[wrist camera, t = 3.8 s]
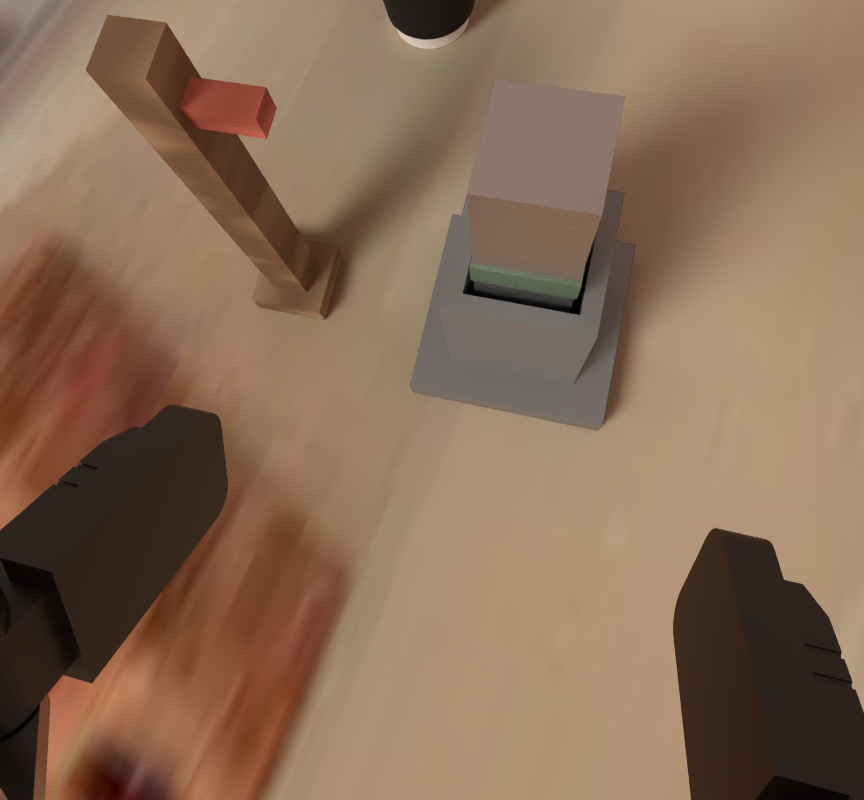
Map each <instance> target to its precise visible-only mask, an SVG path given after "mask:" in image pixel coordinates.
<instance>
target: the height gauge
mask: <svg viewBox="0 0 864 800" xmlns="http://www.w3.org/2000/svg"><path fill="white" fill-rule="evenodd" d="M86 71H87V72H88V73H89V75H90V76H91V77H92V78H93V79H94V80H95V81H96V83H97V84H98V85H99V86H100V87H101V88H102V89H103V91H104V92H105V93H106V94H107V95H108V96H109V98H110V99H111V100H112V101H113V102H114V103H115V104H116V106H117V107H118V108H119V109H120V110H121V111H122V112H123V114H124V115H125V116H126V117H127V118H128V119H129V121H130V122H131V123H132V124H133V125H134V126H135V127H136V129H137V130H138V131H139V132H140V133H141V134H142V135H143V137H144V138H145V139H146V140H147V141H148V142H149V144H150V145H151V146H152V147H153V148H154V149H155V150H156V152H157V153H158V154H159V155H160V156H161V157H162V159H163V160H164V161H165V162H166V163H167V164H168V165H169V167H170V168H171V169H172V170H173V171H174V172H175V173H176V175H177V176H178V177H179V178H180V179H181V180H182V182H183V183H184V184H185V185H186V186H187V187H188V188H189V190H190V191H191V192H192V193H193V194H194V195H195V196H196V198H197V199H198V200H199V201H200V202H201V203H202V205H203V206H204V207H205V208H206V209H207V210H208V211H209V213H210V214H211V215H212V216H213V217H214V218H215V219H216V221H217V222H218V223H219V224H220V225H221V226H222V228H223V229H224V230H225V231H226V232H227V233H228V234H229V236H230V237H231V238H232V239H233V240H234V241H235V242H236V244H237V245H238V246H239V247H240V248H241V249H242V251H243V252H244V253H245V254H246V255H247V256H248V257H249V259H250V260H251V261H252V262H253V263H254V264H255V265H256V267H257V268H258V269H259V270H260V274H259V277H258V280H257V284H256V287H255V290H254V293H253V297H252V300H253V301H254V302H255V303H256V304H257V305H258V306H259V307H262V308H267V309H272V310H277V311H282V312H288V313H293V314H298V315H303V316H308V317H313V318H318V319H323V320H325V317H326V314H327V310H328V307H329V303H330V300H331V296H332V292H333V289H334V285H335V282H336V278H337V275H338V271H339V268H340V264H341V260H342V257H343V255H342V254H341V252H340V250H339V248H338V246H332V245H327V244H321V243H315V242H310V241H304V239H303V238H302V236H301V235H300V233H299V231H298V230H297V228H296V227H295V225H294V224H293V222H292V220H291V219H290V217H289V216H288V214H287V212H286V211H285V209H284V208H283V206H282V205H281V203H280V201H279V200H278V198H277V197H276V195H275V194H274V192H273V190H272V189H271V187H270V186H269V184H268V182H267V181H266V179H265V178H264V176H263V175H262V173H261V171H260V170H259V168H258V167H257V165H256V164H255V162H254V160H253V159H252V157H251V156H250V154H249V152H248V151H247V149H246V148H245V146H244V145H243V143H242V141H241V140H240V138H239V137H238V135H245V136H251V137H258V138H264V139H267V137H268V134H269V130H270V127H271V124H272V121H273V118H274V115H275V112H276V109H277V108H276V106H275V104H274V102H273V100H272V98H271V96H270V94H269V92H268V90H267V88H266V87H260V86H253V85H246V84H239V83H232V82H225V81H218V80H211V79H204V78H201V77H200V75H199V74H198V72H197V70H196V69H195V67H194V66H193V64H192V62H191V61H190V59H189V58H188V56H187V55H186V53H185V51H184V50H183V48H182V47H181V45H180V44H179V42H178V40H177V39H176V37H175V36H174V34H173V32H172V31H171V29H170V28H169V26H168V25H167V23H166V22H158V21H150V20H142V19H135V18H127V17H119V16H111V15H107V17H106V20H105V22H104V25H103V28H102V30H101V33H100V35H99V38H98V40H97V43H96V45H95V48H94V50H93V53H92V56H91V58H90V61H89V63H88V66H87V68H86ZM237 134H238V135H237Z"/></svg>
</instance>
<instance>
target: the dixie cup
mask: <svg viewBox="0 0 864 800" xmlns="http://www.w3.org/2000/svg"><path fill="white" fill-rule="evenodd" d="M383 1H384V4H385V7H386V10H387V13H388V16H389V18H390V20H391V22H392V24H393V25H394V26H395V27H396V29H397V31H398V33H399V35H400V36H401V37H402V39H403V40H404V41H406V42H407V43H409V44H410V45H412V46H415V47H418V48H423V49H435V48H440V47H443V46H446V45H448V44H450V43H452V42H453V41H455V40H456V39H457V38H459V37H460V36H461V35H462V33H463V32H464V31H465V29H466V27H467V25H468V22H469V17H470V14H471V12H472V10H473V6H474V0H383Z"/></svg>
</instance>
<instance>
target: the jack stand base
mask: <svg viewBox="0 0 864 800" xmlns="http://www.w3.org/2000/svg"><path fill="white" fill-rule="evenodd" d="M472 172H473V171H472ZM471 176H472V175H471ZM470 180H471V179H470ZM469 184H470V183H469ZM468 188H469V187H468ZM467 192H468V191H467ZM623 198H624V193H623V192H616V191H610V190H607V192H606V197H605V203H604V208H603V213H602V217H601V220H600V223H599V226H598V229H597V232H596V235H595V238H594V241H593V244H592V247H591V250H590V253H589V256H588V258H587V261H586V265H585V270H584V275H583V280H582V285H581V289H580V292H579V295H578V297H577V299H574V300H573V303H572V306H571V309H570V312H569V313H565V312H560V311H554V310H549V309H543V308H538V307H533V306H527V305H522V304H516V303H511V302H505V301H500V300H494V299H489V298H483V297H478V296H475V291H474V281H472V280H470V269H469V267H470V263H471V258H472V252H471V238H470V225H469V212H468V199H467V195H466V199H465V204H464V208H463V212H462V216H461V215H455V214H452V218H451V222H450V226H449V230H448V234H447V238H446V242H445V246H444V250H443V254H442V258H441V262H440V266H439V270H438V274H437V278H436V282H435V286H434V290H433V295H432V299H431V303H430V307H429V311H428V315H427V319H426V323H425V327H424V331H423V335H422V339H421V343H420V347H419V351H418V355H417V359H416V363H415V367H414V371H413V375H412V379H411V384H410V386H411V388H412V390H413V392H415V393H420V394H425V395H430V396H434V397H439V398H444V399H449V400H454V401H458V402H463V403H468V404H473V405H477V406H482V407H487V408H492V409H497V410H501V411H506V412H511V413H516V414H521V415H525V416H530V417H535V418H540V419H545V420H549V421H554V422H559V423H564V424H568V425H573V426H578V427H583V428H588V429H592V430H597V431H598V430H599V429H600V428H601V427H602V426H603V420H604V415H605V409H606V404H607V398H608V393H609V387H610V382H611V376H612V371H613V365H614V360H615V354H616V349H617V344H618V338H619V333H620V327H621V322H622V316H623V311H624V305H625V300H626V294H627V289H628V283H629V278H630V272H631V267H632V261H633V256H634V250H635V245H636V244H630V243H624V242H618V241H616V235H617V230H618V225H619V220H620V214H621V209H622V204H623Z"/></svg>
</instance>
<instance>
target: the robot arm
mask: <svg viewBox="0 0 864 800" xmlns="http://www.w3.org/2000/svg"><path fill="white" fill-rule="evenodd" d="M227 490H228V480H227V471H226V462H225V454H224V445H223V436H222V428H221V422H220V419H219V417H218V416H217V415H216V414H214V413H210V412H206V411H201V410H197V409H192V408H188V407H184V406H179V405H174V404H172V405H168V406H166V407H165V408H163V409H162V410H161V411H160V412H159V413H158V414H157V415H156V416H155V417H153V418H152V419H151V420H150V421H149V422H148V423H147V424H146V425H145V426H144V427H142V428H138V427H132V428H130V429H128V430H126V431H124V432H122V433H120V434H118V435H116V436H114V437H111V438H109V439H107V440H105V441H103V442H102V443H101V444H99V445H98V446H97V447H96V448H95V449H94V450H92V451H91V452H90V453H89V454H88V455H87V456H86V457H84V458H83V459H82V460H81V461H80V462H79V464H78V467H73V468H72V469H71V470H69V471H68V472H67V473H66V474H65V475H64V476H62V477H61V478H60V479H59V482H58V484H57V485H54V484H53V485H52V486H51V487H50V488H49V489H47V490H46V491H45V492H44V493H43V494H42V495H41V496H39V497H38V498H37V499H36V500H35V501H34V502H32V503H31V504H30V505H29V506H28V507H27V508H26V509H24V510H23V511H22V512H21V513H20V514H19V515H17V516H16V517H15V518H14V519H13V520H12V521H10V522H9V523H8V524H7V525H6V526H5V527H4V528H2V529H1V530H0V800H45V787H46V769H47V751H48V734H49V716H50V699H49V696H48V693H49V691H50V690H51V689H52V688H53V686H54V685H55V684H56V683H57V681H58V680H59V679H60V678H61V677H62V675H66V676H69V677H72V678H76V679H79V680H82V681H85V682H89V683H93V681H94V680H95V679H96V678H97V676H98V675H99V674H100V672H101V671H102V670H103V668H104V667H105V666H106V664H107V663H108V662H109V660H110V659H111V658H112V656H113V655H114V654H115V652H116V651H117V650H118V648H119V647H120V646H121V645H122V643H123V642H124V641H125V639H126V638H127V637H128V635H129V634H130V633H131V631H132V630H133V629H134V627H135V626H136V625H137V623H138V622H139V621H140V619H141V618H142V617H143V615H144V614H145V613H146V612H147V610H148V609H149V608H150V606H151V605H152V604H153V602H154V601H155V600H156V598H157V597H158V596H159V594H160V593H161V592H162V590H163V589H164V588H165V586H166V585H167V584H168V582H169V581H170V580H171V579H172V577H173V576H174V575H175V573H176V572H177V571H178V569H179V568H180V567H181V565H182V564H183V563H184V561H185V560H186V559H187V557H188V556H189V555H190V553H191V552H192V551H193V550H194V548H195V547H196V546H197V544H198V543H199V542H200V540H201V539H202V538H203V536H204V535H205V534H206V532H207V531H208V530H209V528H210V527H211V526H212V524H213V523H214V522H215V520H216V519H217V518H218V516H219V514H220V512H221V510H222V508H223V506H224V503H225V500H226V496H227ZM673 636H674V646H675V655H676V664H677V673H678V682H679V692H680V701H681V710H682V719H683V729H684V738H685V747H686V756H687V765H688V775H689V784H690V793H691V800H864V712H863V709H862V706H861V704H860V701H859V698H858V695H857V693H856V690H855V689H852V679H851V676H850V674H849V671H848V668H847V665H846V663H845V660H844V659H841V653H842V652H841V649H840V646H839V644H838V641H837V638H836V635H835V633H834V630H833V627H832V624H831V622H830V619H829V617H828V616H827V614H826V613H825V612H824V611H823V609H822V608H821V607H820V605H819V604H818V603H817V602H816V600H815V599H814V598H813V597H812V595H811V594H810V593H809V592H808V590H807V589H806V588H805V587H804V585H803V584H799V583H795V582H791V581H786V580H784V579H783V575H782V572H781V569H780V566H779V563H778V559H777V556H776V553H775V550H774V547H773V545H772V544H771V542H770V541H768V540H766V539H762V538H757V537H753V536H748V535H744V534H740V533H735V532H731V531H726V530H722V529H717V528H714V529H712V530H711V531H710V532H709V534H708V535H707V537H706V539H705V541H704V543H703V545H702V548H701V550H700V552H699V554H698V556H697V558H696V560H695V562H694V564H693V566H692V568H691V570H690V573H689V575H688V577H687V579H686V581H685V583H684V585H683V587H682V589H681V591H680V594H679V596H678V599H677V603H676V607H675V613H674V621H673Z"/></svg>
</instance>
